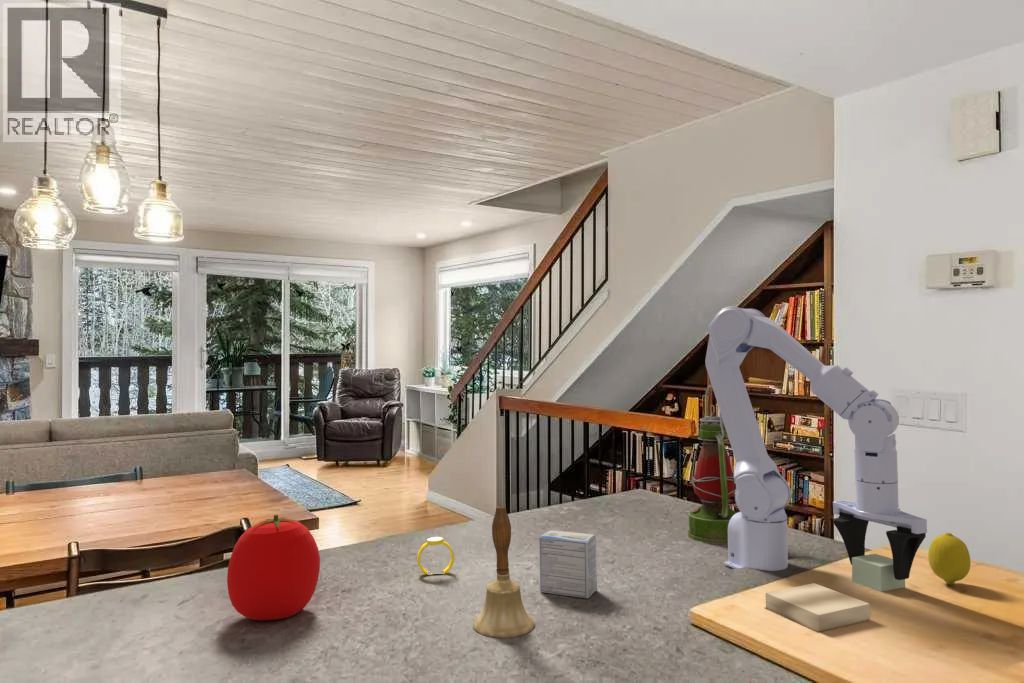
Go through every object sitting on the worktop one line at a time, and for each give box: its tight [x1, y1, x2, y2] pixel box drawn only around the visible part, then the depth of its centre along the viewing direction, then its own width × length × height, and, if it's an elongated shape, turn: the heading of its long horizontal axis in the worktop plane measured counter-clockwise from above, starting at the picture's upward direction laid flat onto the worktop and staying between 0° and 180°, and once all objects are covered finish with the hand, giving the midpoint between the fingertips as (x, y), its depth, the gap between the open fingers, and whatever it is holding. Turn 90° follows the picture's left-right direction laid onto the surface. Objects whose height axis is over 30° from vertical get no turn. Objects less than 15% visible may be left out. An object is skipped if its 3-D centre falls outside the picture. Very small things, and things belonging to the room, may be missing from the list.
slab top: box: [765, 582, 871, 632], centre depth 92 cm, size 9×9×2 cm
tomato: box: [226, 514, 321, 621], centre depth 98 cm, size 13×11×14 cm
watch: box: [416, 536, 455, 575], centre depth 115 cm, size 6×3×6 cm, turn 102°
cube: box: [851, 553, 906, 593], centre depth 104 cm, size 5×5×5 cm
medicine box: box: [538, 529, 598, 599], centre depth 106 cm, size 8×4×9 cm, turn 65°
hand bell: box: [472, 505, 535, 639], centre depth 93 cm, size 8×8×16 cm
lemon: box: [927, 532, 972, 585], centre depth 107 cm, size 6×6×8 cm
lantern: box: [687, 383, 738, 545], centre depth 137 cm, size 14×11×30 cm
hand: (878, 571), depth 104 cm, fingers open, 7 cm apart
